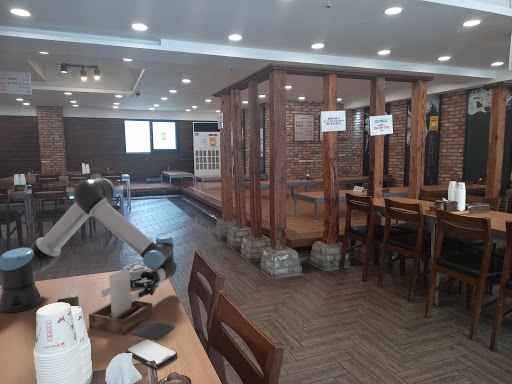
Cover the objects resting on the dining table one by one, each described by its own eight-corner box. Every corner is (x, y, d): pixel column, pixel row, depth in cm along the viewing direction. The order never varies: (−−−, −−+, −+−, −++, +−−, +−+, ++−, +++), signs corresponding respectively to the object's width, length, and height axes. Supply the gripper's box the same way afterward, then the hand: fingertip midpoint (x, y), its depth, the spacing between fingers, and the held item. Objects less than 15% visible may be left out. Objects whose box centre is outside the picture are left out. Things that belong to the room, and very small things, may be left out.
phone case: (124, 354, 114) (156, 370, 104) (124, 349, 113) (156, 365, 104) (147, 342, 121) (179, 357, 111) (147, 338, 121) (179, 352, 111)
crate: (89, 327, 130) (88, 314, 130) (120, 309, 145) (119, 297, 145) (124, 334, 125) (123, 321, 124) (152, 315, 140) (152, 303, 139)
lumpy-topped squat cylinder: (131, 287, 169) (130, 270, 169) (119, 280, 179) (119, 264, 178) (151, 282, 177) (150, 265, 176) (139, 275, 186) (138, 259, 185)
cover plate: (111, 322, 131) (109, 276, 130) (126, 313, 139) (124, 269, 137) (117, 323, 131) (114, 276, 129) (131, 314, 138) (129, 270, 136)
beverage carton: (49, 335, 125) (48, 317, 124) (58, 313, 143) (57, 297, 142) (74, 331, 128) (73, 313, 127) (80, 310, 146) (79, 294, 145)
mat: (132, 334, 125) (132, 333, 125) (150, 322, 134) (149, 321, 134) (158, 340, 121) (158, 338, 121) (174, 326, 130) (174, 325, 130)
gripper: (177, 289, 147) (145, 310, 128) (129, 282, 156) (91, 301, 136) (177, 272, 147) (144, 290, 127) (128, 265, 155) (90, 282, 135)
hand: (116, 296), depth 131 cm, fingers open, 13 cm apart
